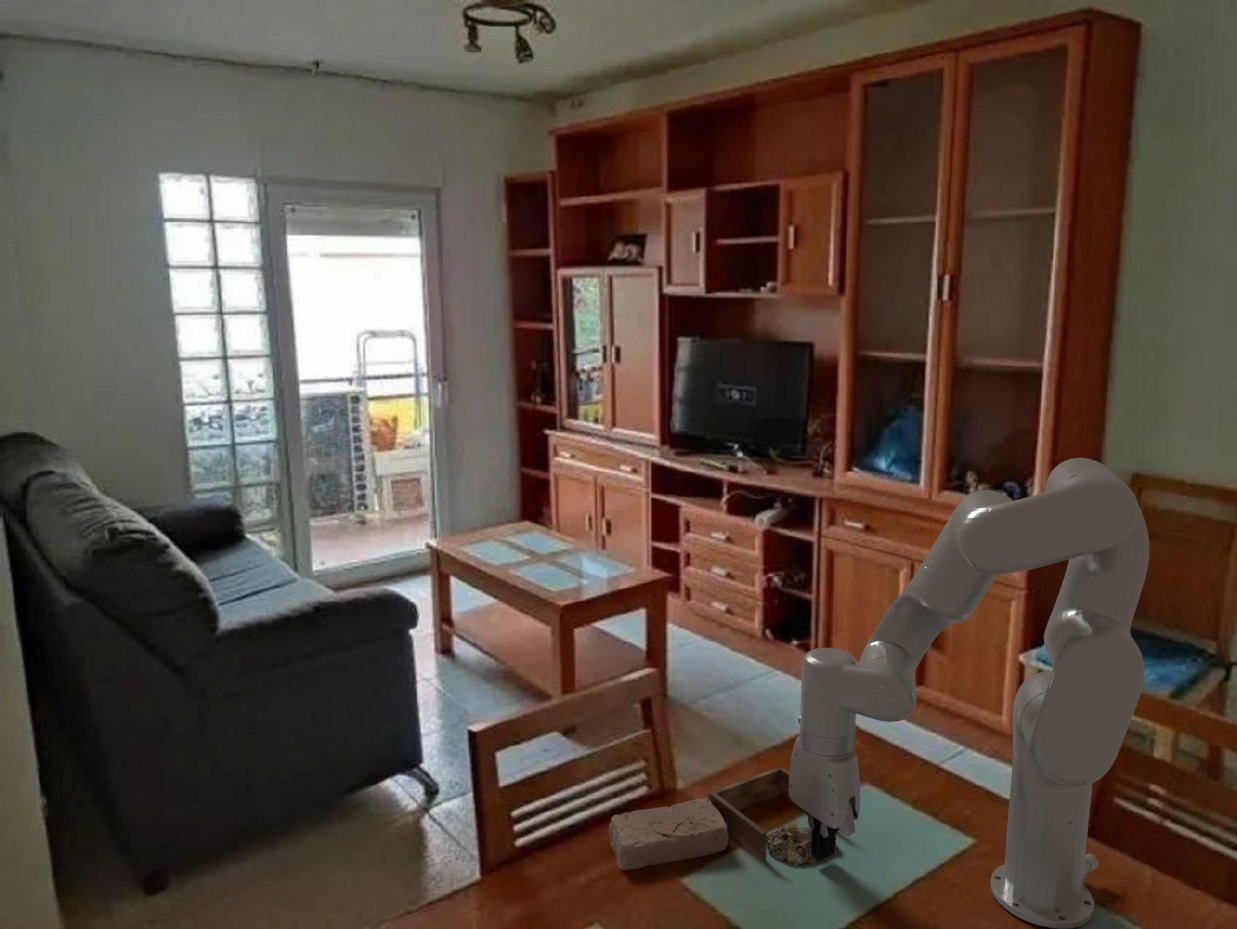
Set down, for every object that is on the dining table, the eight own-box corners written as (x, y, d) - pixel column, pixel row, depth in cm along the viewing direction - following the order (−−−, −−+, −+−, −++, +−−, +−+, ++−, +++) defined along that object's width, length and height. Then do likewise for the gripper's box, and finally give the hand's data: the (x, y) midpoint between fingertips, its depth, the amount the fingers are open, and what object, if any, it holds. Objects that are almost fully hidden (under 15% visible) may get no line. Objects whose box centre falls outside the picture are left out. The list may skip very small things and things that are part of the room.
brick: (621, 874, 128) (621, 844, 127) (607, 840, 136) (606, 812, 135) (730, 854, 133) (730, 825, 132) (709, 822, 140) (710, 795, 140)
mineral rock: (772, 857, 128) (761, 812, 135) (769, 878, 130) (758, 832, 137) (846, 855, 128) (832, 810, 136) (842, 876, 130) (828, 831, 138)
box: (780, 791, 148) (780, 766, 147) (836, 830, 137) (837, 803, 136) (708, 818, 141) (708, 792, 140) (761, 862, 130) (762, 834, 129)
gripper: (770, 722, 130) (768, 837, 134) (847, 768, 117) (842, 893, 121) (809, 709, 134) (806, 821, 137) (887, 752, 121) (881, 874, 125)
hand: (823, 854), depth 129 cm, fingers closed
